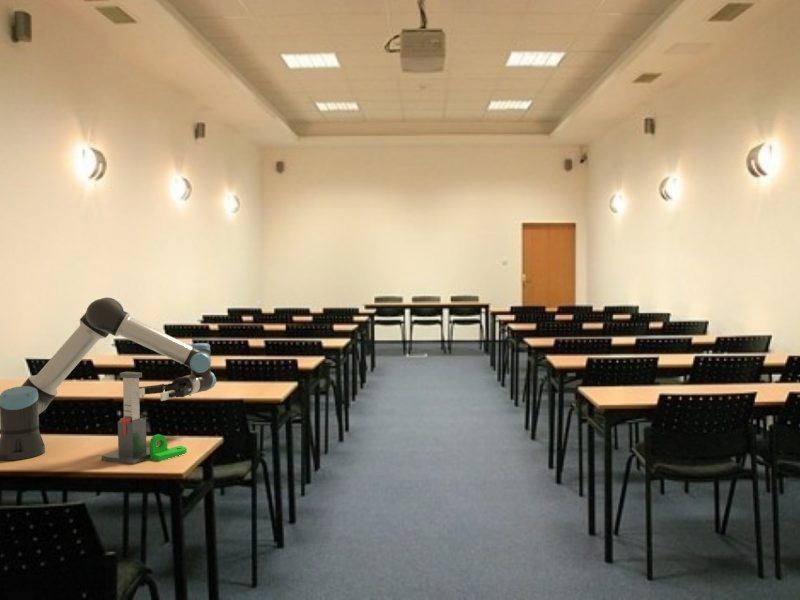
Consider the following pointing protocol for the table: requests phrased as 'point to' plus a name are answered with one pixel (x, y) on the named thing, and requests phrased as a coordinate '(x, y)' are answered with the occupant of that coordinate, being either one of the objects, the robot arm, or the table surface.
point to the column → (131, 394)
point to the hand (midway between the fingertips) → (145, 395)
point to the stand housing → (130, 443)
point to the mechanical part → (164, 449)
